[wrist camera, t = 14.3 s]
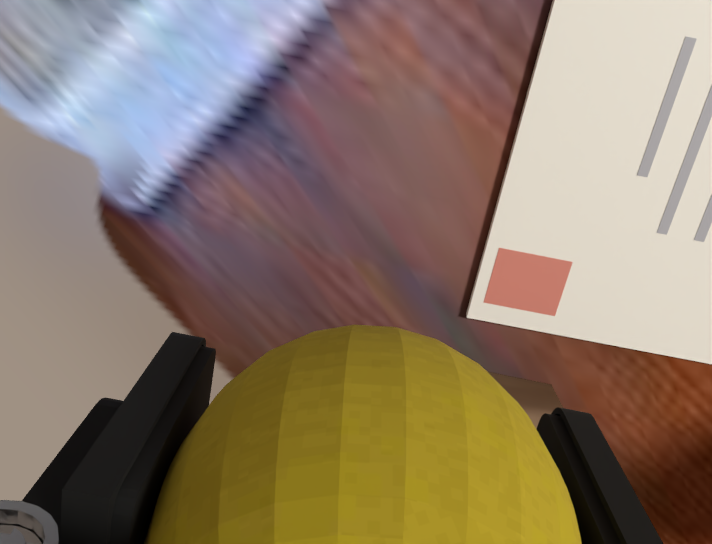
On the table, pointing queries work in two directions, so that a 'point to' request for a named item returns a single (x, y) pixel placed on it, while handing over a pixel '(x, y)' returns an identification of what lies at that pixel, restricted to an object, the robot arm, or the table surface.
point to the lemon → (363, 452)
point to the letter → (610, 183)
